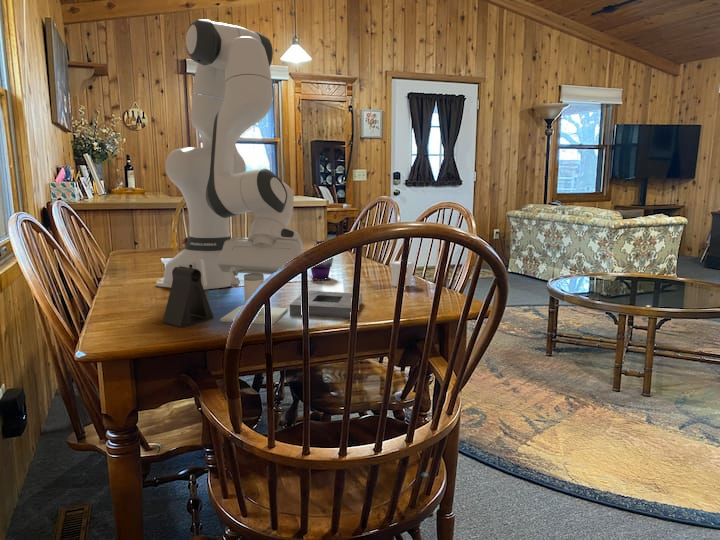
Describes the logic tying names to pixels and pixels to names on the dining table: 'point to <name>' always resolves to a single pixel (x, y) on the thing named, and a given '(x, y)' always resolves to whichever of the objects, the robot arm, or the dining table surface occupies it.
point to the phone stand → (187, 299)
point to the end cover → (252, 286)
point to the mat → (259, 319)
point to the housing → (326, 304)
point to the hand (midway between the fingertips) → (253, 287)
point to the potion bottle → (322, 267)
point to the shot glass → (396, 270)
